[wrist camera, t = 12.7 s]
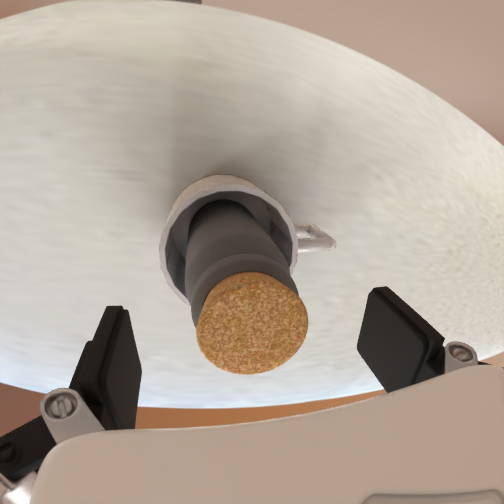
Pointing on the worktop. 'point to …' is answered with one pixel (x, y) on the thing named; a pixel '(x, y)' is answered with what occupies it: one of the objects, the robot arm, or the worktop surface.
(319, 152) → the worktop surface
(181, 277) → the mug
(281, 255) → the bottle
